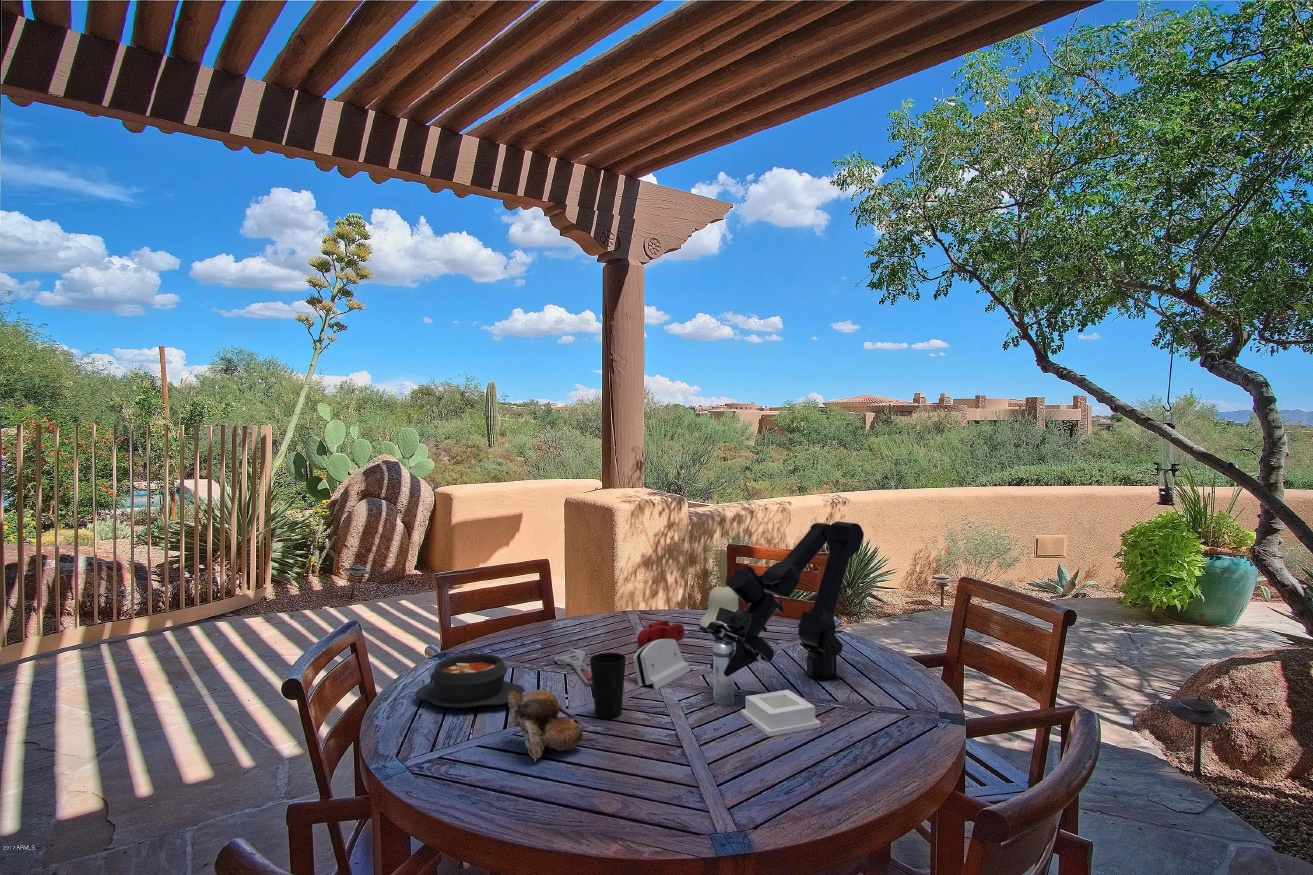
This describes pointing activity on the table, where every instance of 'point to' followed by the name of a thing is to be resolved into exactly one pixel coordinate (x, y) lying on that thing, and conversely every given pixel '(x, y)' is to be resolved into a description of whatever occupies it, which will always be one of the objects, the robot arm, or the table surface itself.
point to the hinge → (659, 663)
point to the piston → (722, 673)
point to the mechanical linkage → (660, 632)
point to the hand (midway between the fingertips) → (718, 672)
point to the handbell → (720, 595)
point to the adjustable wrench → (577, 664)
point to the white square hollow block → (780, 713)
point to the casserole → (468, 682)
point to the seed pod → (544, 722)
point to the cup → (608, 684)
